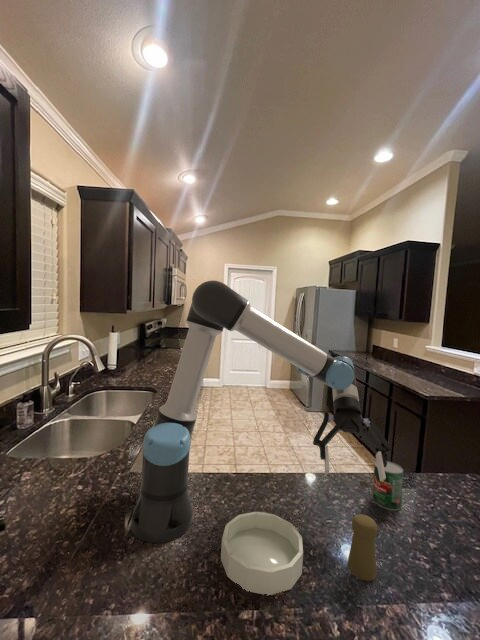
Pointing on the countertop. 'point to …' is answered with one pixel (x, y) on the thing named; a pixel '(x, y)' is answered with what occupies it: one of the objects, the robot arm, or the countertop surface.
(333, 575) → the countertop surface
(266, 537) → the bowl
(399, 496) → the canned tomato
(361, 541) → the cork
